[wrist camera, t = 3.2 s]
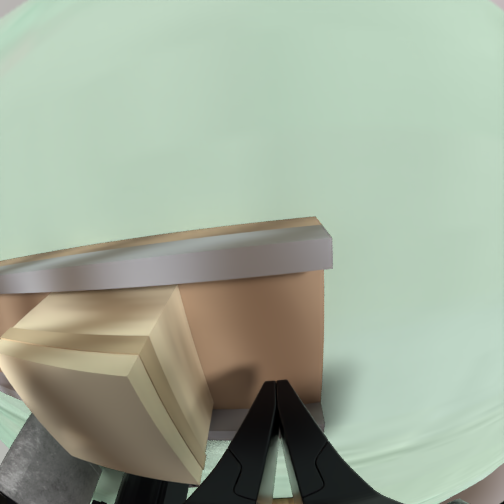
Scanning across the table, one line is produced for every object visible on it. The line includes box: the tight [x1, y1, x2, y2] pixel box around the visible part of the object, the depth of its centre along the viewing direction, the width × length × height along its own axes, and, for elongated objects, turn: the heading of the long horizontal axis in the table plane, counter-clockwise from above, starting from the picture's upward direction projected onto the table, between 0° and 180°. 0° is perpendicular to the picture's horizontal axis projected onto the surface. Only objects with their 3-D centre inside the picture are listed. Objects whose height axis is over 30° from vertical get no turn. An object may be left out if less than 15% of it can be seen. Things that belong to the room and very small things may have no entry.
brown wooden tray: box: [0, 217, 333, 440], centre depth 12 cm, size 30×10×4 cm, turn 97°
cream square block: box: [0, 284, 214, 485], centre depth 10 cm, size 7×7×5 cm
